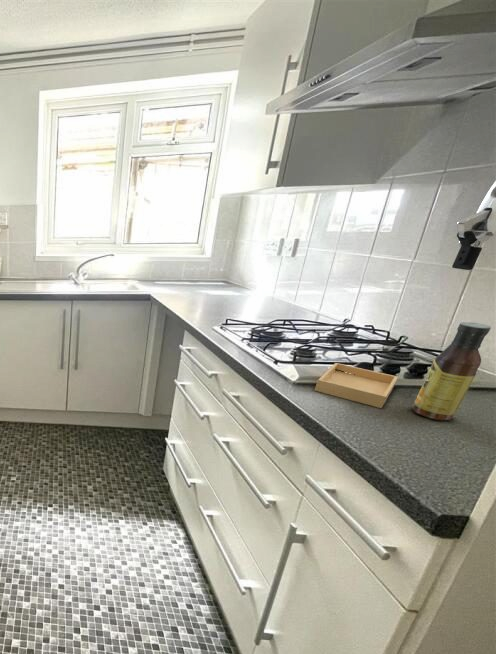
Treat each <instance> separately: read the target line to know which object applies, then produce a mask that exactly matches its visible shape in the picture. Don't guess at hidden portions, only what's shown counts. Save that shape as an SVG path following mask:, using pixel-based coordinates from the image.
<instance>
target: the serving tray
mask: <svg viewBox="0 0 496 654" xmlns="http://www.w3.org/2000/svg"><path fill="white" fill-rule="evenodd" d="M335 369H338V370H341V371H345V372H347V373H345V372H341V371H336V370H335ZM349 373H352V374H349ZM354 374H355V375H354ZM398 379H399V376H397V375H394V374H393V375H392V374H387V373H385V372H384V373H383V372H378V371H374V370H370V369H365V368H361V367H358V366H357V367H356V366H352V365H348V364H344V363H339V362H335V363H334V364H332V365H331V366H330V367H329V369H328V370H327V371H325V373H324V374H323V375H322V376H320V377H319V378H318V379H317V382H316V385H315V386H314V391H315V392H319V393H323V394H326V395H330V396H334V397H337V398H342V399H344V400H345V399H346V400H349V401H352V402H357V403H361V404H362V405H363V404H364V405H368V406H372V407H375V408H380V409H382V408H383V406H384V405H385V404H386V401H387V399H388V397H389V396H390V394H391V393H392V391H393V389H394V387H395V385H396V383H397V380H398Z"/></svg>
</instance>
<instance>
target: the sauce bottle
mask: <svg viewBox="0 0 496 654" xmlns="http://www.w3.org/2000/svg"><path fill="white" fill-rule="evenodd" d="M491 329H492V326H490V325H487V324H485V323H479V322H471V321H463V322H460V323H459V325H458V327H457V332H456V334H455V336H454V338H453V340H452V341H451V343H450V344H449V345H448V346H447V347H446V348H444V350H442V352H440V353H439V354H438V355H437V356H436V357H435V358H434V360H433V362H432V363H431V366H430V368H429V370H428V372H427V374H426V376H425V379H424V381H423V383H422V384H421V387H420V389H419V392H418V394H417V397H416V398H415V400H414V405H413V412H414V413H415V414H418V415H420V416H421V417H425V418H428V419H432V420H435V421H450V420H452V419H453V417H454V416H455V414H456V413H457V411H458V410H459V408H460V406H461V404H462V402H463V400H464V398H465V396H466V395H467V392H468V390H469V389H470V387H471V385H472V383H473V381H474V380H475V377H476V375H477V372H478V370H479V368H480V366H481V364H482V357H481V354H480V350H479V349H480V348H481V345H482V343H483V341H484V339H485V337H487V335H488V334H489V333H490V330H491Z"/></svg>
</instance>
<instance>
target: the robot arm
mask: <svg viewBox="0 0 496 654" xmlns="http://www.w3.org/2000/svg"><path fill="white" fill-rule="evenodd" d="M489 188H490V189H489V190H488V192H487V193H486V195H485V197H484V198H483V200H482V202H481V204H480V205H479V207H478V209H477V211H476V213H473V214H471V215H468V216H467V217H464V218H462V219H460V220H458V221H457V223H456V226H457V233H456V237H457V239H458V243H457V244H458V246H459V247H460V248H459V250H458V252H457V254H456V257H455V259H454V261H453V263H452V265H451V268H452V269H457V270H464V271H471V270H473V269H474V267H475V265H476V263H477V261H478V259H479V257H480V254H481V253H482V250H483V247H480V246H481V245H482V244H484V243H485V242H486V241H488V240H489V239H490V238H491V237H493V236H494V237H496V180H494V182H493V183H492V185H491V186H490V187H489Z"/></svg>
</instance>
